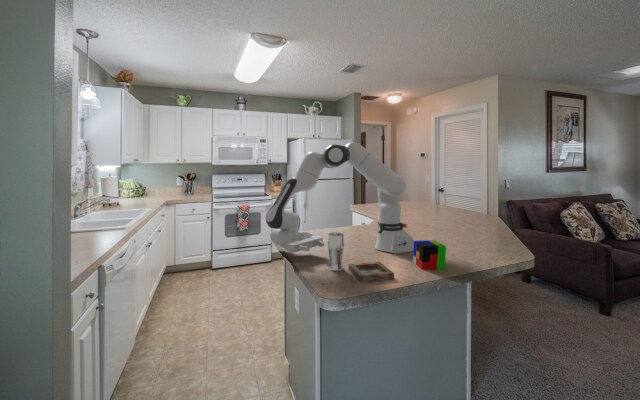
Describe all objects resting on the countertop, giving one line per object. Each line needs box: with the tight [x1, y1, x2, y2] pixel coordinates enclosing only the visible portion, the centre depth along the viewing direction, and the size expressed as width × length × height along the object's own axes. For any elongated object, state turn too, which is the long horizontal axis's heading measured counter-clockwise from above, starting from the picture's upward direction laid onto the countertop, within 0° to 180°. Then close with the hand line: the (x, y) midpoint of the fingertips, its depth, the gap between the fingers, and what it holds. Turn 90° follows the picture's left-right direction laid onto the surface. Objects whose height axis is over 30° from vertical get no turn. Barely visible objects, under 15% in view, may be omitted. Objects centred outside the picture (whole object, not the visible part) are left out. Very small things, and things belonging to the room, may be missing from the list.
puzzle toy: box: [412, 239, 447, 271], centre depth 133 cm, size 10×10×10 cm
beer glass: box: [327, 231, 345, 272], centre depth 129 cm, size 7×7×15 cm
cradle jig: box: [348, 261, 395, 283], centre depth 123 cm, size 14×14×2 cm
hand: (315, 247), depth 137 cm, fingers open, 8 cm apart
